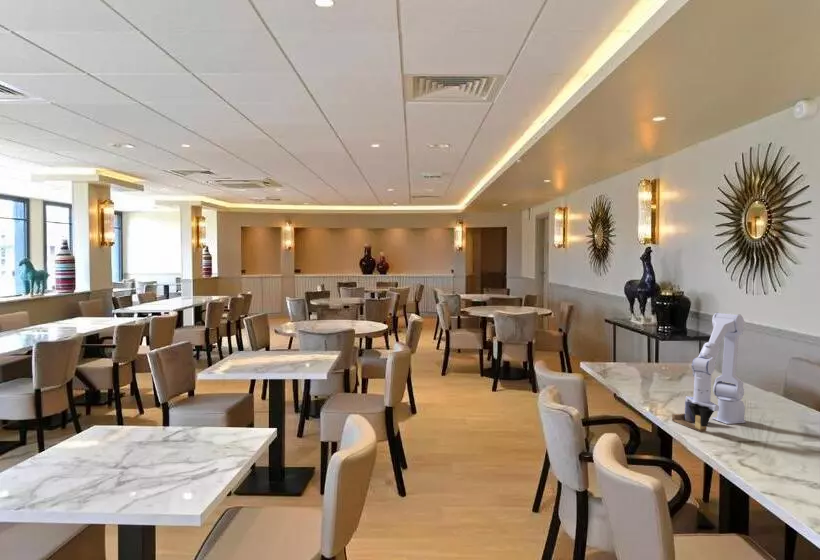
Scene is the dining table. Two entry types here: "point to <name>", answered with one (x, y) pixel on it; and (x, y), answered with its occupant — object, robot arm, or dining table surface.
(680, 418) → the wooden t-shaped handle
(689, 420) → the flask
